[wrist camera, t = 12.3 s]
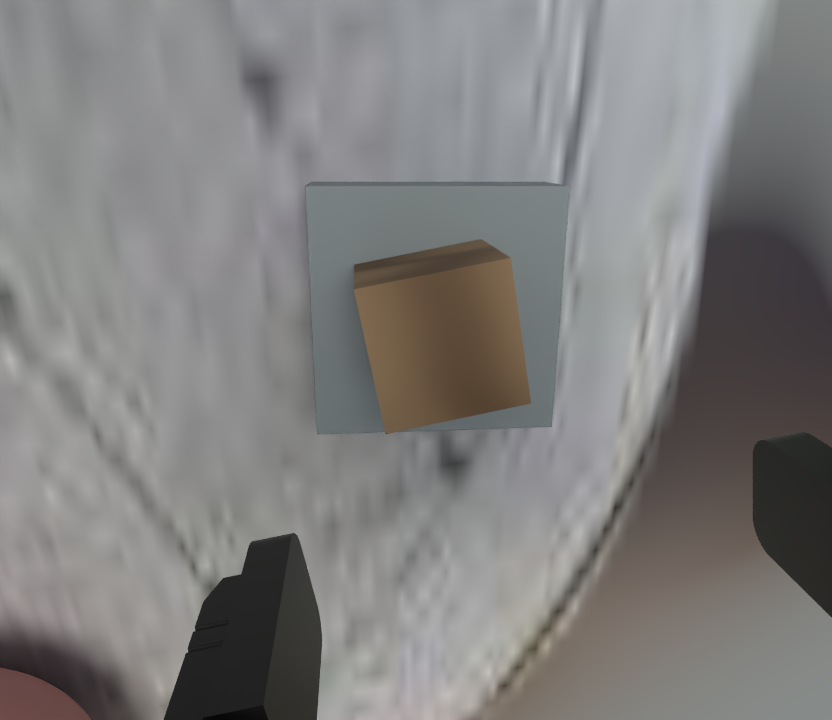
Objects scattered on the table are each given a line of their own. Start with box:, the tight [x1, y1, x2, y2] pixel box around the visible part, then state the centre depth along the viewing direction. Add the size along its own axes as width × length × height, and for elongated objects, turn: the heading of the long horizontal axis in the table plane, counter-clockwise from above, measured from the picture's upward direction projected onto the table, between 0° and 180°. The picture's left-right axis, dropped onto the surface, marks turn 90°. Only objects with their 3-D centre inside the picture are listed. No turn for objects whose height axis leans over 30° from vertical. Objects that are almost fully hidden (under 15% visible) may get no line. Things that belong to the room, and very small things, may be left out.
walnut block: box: [354, 239, 531, 434], centre depth 23 cm, size 5×5×5 cm
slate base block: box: [305, 182, 570, 434], centre depth 27 cm, size 10×10×4 cm
